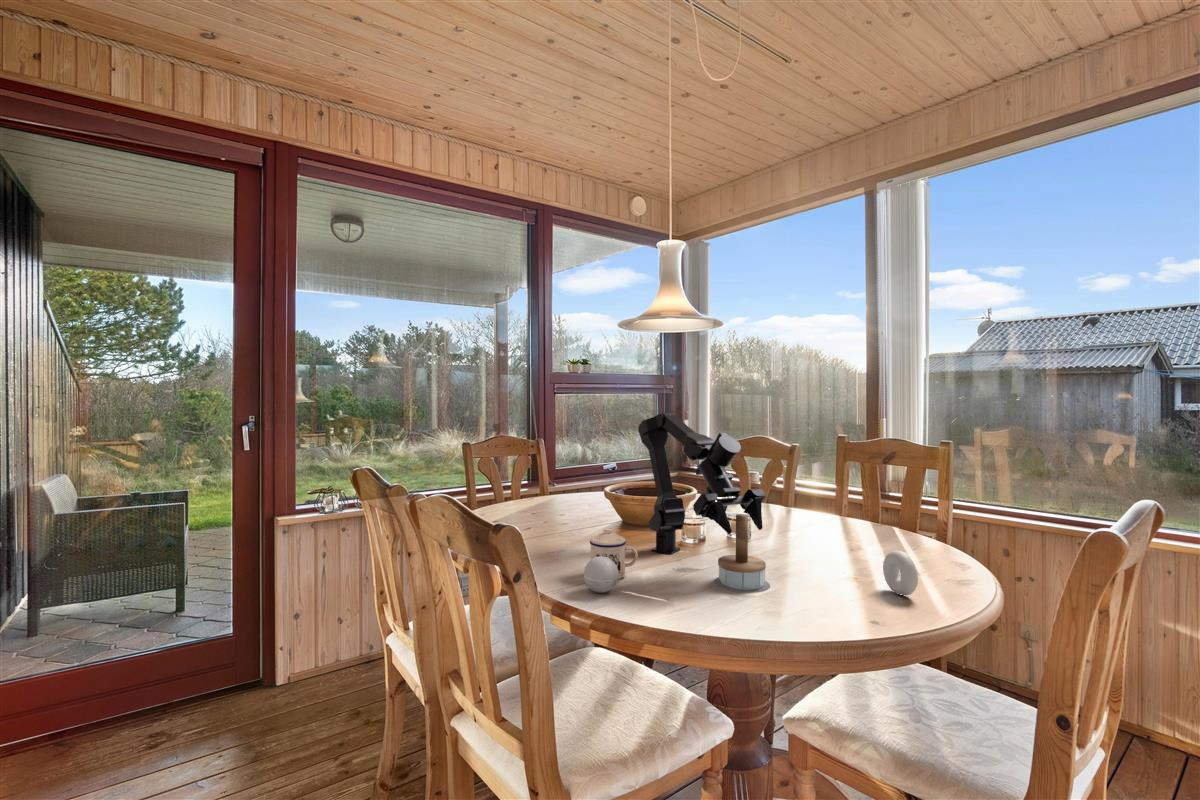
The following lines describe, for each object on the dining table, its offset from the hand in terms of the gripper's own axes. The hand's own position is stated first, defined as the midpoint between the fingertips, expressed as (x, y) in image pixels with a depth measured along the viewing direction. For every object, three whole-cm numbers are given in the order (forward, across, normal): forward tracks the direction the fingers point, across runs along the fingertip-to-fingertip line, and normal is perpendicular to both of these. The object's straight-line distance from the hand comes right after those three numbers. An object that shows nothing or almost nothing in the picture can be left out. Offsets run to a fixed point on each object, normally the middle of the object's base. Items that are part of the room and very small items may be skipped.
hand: (746, 531), depth 133 cm
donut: (+23, -28, +4) cm, 37 cm away
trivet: (+8, 0, -10) cm, 13 cm away
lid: (+5, 0, -7) cm, 9 cm away
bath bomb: (+1, +32, -18) cm, 37 cm away
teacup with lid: (-5, +24, -24) cm, 35 cm away
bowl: (+8, 0, -10) cm, 13 cm away
